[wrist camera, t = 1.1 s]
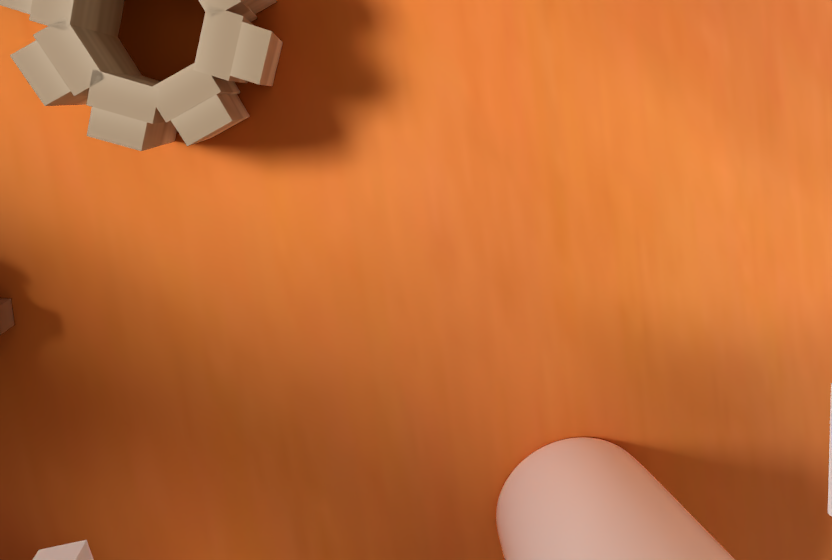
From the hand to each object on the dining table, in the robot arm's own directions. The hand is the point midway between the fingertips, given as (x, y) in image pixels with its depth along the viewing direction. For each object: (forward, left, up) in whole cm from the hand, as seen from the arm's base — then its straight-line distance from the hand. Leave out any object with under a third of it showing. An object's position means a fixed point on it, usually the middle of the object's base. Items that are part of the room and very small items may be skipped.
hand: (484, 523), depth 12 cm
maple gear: (-11, +7, -19) cm, 23 cm away
